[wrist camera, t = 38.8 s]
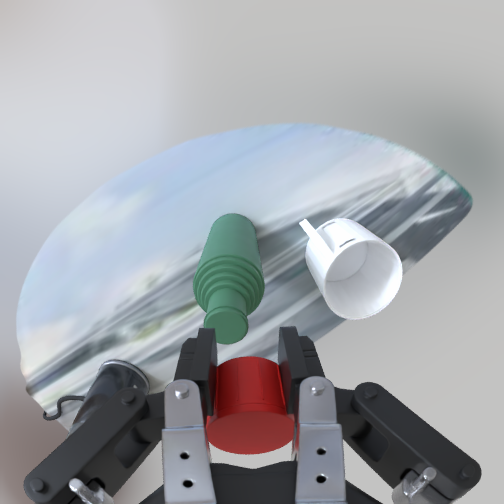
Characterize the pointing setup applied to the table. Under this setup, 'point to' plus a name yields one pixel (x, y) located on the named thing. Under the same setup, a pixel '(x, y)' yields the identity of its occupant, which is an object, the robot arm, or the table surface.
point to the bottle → (229, 278)
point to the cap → (249, 408)
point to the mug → (352, 268)
